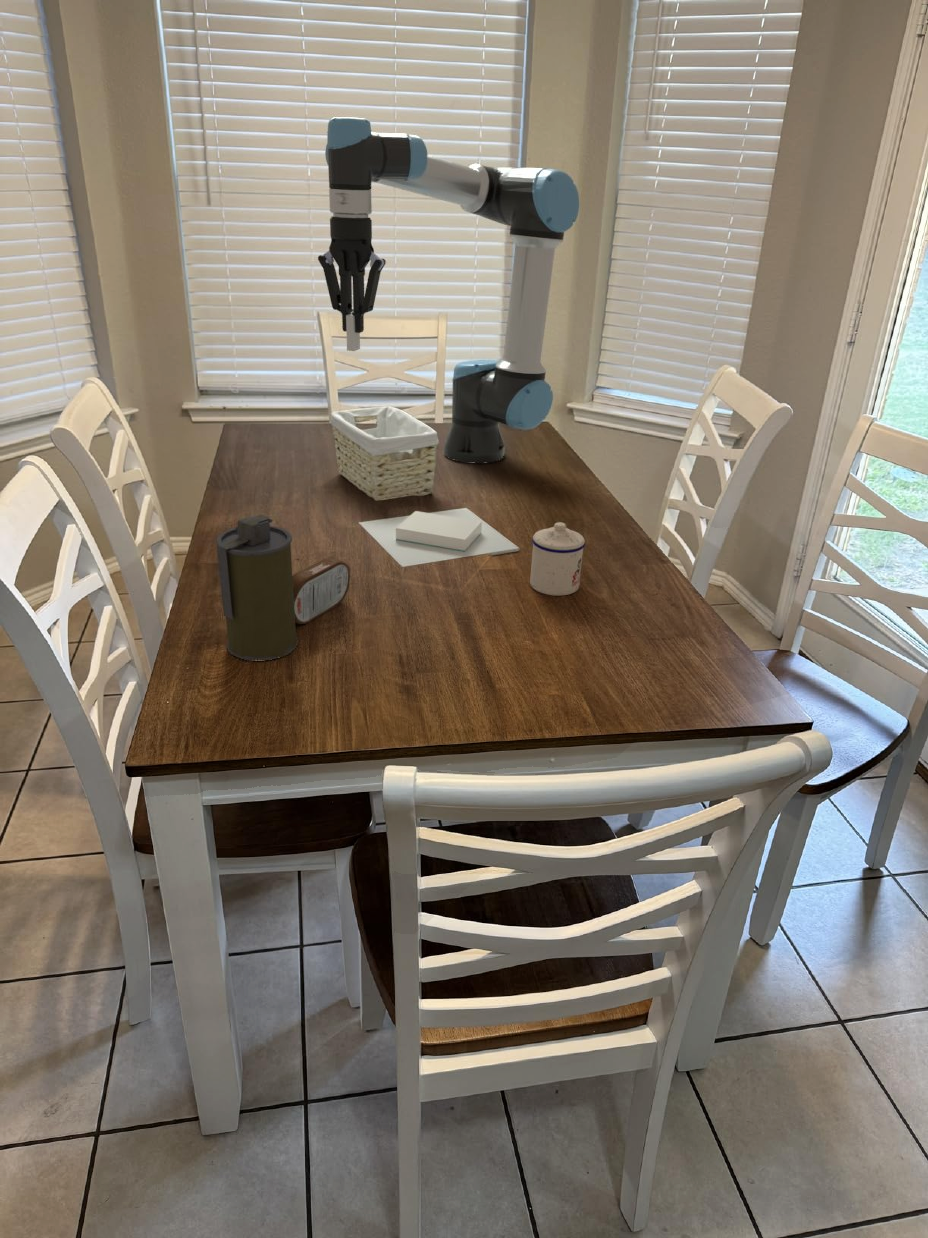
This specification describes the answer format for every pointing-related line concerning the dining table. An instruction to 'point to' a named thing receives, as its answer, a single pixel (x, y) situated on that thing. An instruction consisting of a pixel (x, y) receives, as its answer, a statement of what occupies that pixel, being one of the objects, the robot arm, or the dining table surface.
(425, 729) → the dining table surface
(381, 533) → the mat
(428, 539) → the tile
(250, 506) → the dining table surface
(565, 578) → the teacup with lid
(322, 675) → the dining table surface
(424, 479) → the storage basket
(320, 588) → the tin
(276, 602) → the canister
